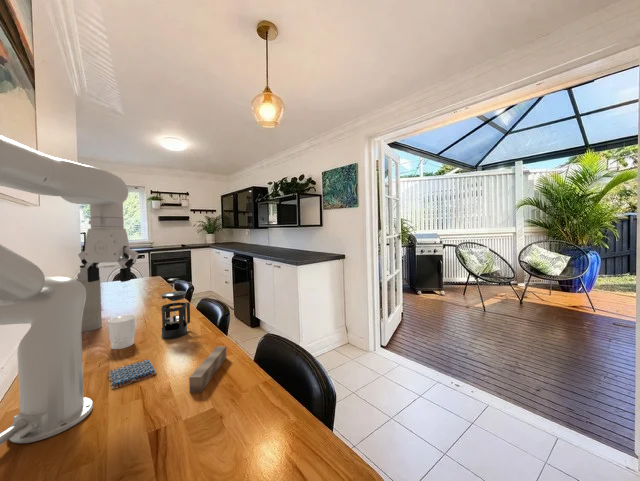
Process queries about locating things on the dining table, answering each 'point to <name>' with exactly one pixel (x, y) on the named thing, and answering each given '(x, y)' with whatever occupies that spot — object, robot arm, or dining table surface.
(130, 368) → the woven mat
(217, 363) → the bar
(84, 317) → the thermos bottle
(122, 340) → the white cup
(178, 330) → the french press
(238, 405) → the dining table surface
